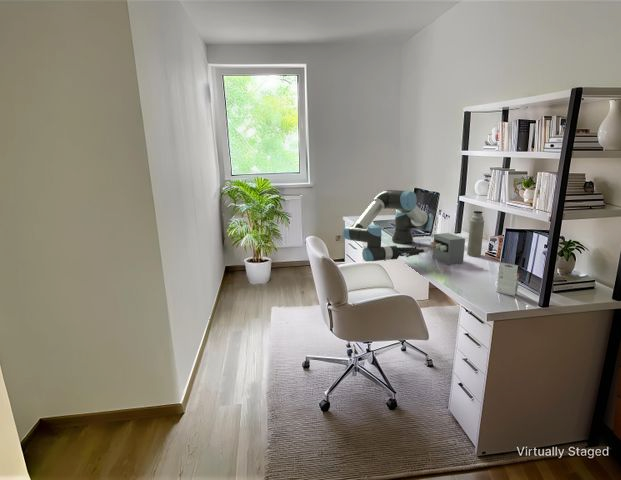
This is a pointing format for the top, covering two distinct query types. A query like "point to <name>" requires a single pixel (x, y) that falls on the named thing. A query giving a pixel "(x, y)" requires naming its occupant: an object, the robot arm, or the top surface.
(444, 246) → the sage button
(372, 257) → the robot arm
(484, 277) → the top surface
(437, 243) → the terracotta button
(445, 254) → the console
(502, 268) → the ink box
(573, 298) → the top surface
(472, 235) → the thermos bottle
